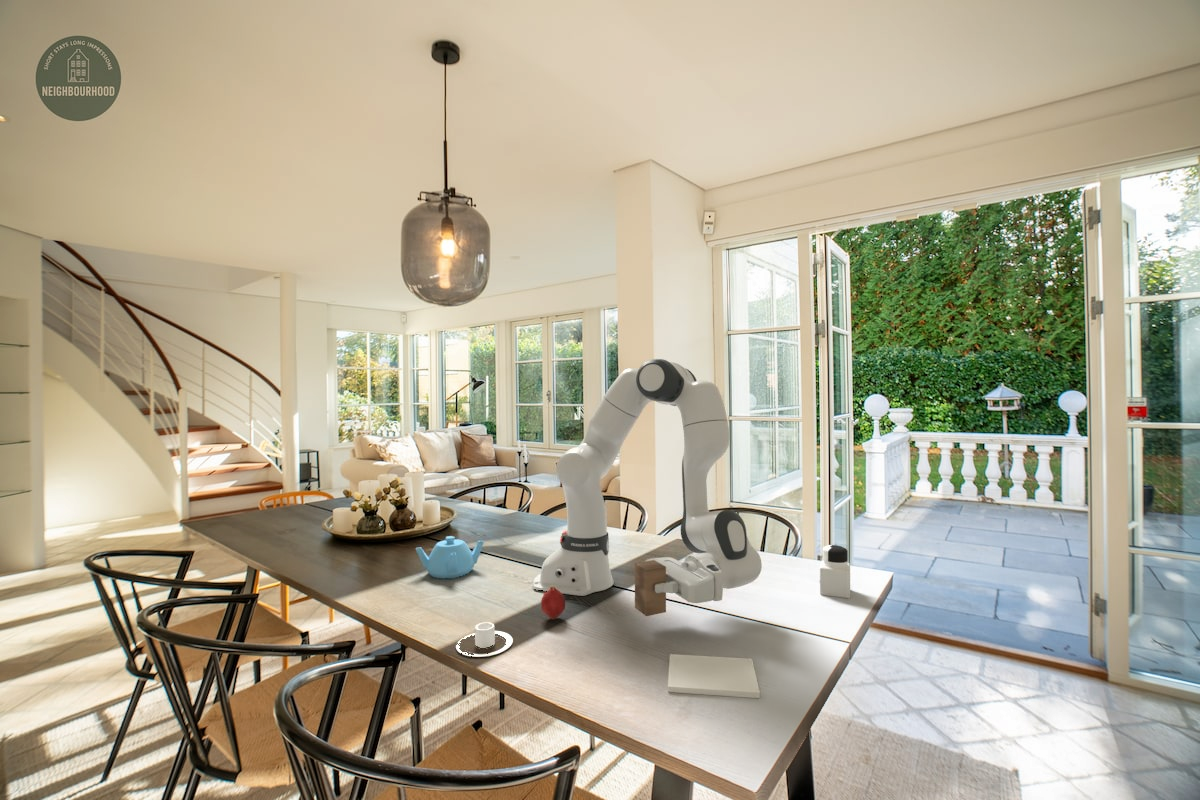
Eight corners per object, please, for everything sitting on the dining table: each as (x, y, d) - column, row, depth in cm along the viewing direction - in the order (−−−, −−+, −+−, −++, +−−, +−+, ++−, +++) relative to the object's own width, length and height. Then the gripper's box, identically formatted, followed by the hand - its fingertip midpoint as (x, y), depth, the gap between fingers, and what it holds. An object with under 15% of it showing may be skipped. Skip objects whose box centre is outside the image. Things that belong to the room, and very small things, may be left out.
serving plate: (667, 691, 98) (667, 686, 98) (669, 659, 110) (669, 654, 110) (760, 698, 95) (759, 692, 95) (751, 663, 107) (751, 658, 107)
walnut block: (634, 607, 121) (634, 563, 121) (654, 603, 123) (654, 560, 123) (646, 616, 117) (645, 570, 117) (666, 612, 119) (665, 566, 119)
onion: (541, 614, 132) (540, 581, 132) (565, 613, 133) (564, 580, 133) (541, 624, 127) (540, 590, 126) (565, 623, 127) (565, 589, 127)
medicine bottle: (850, 589, 145) (849, 544, 145) (850, 599, 139) (849, 552, 138) (821, 585, 148) (821, 541, 148) (820, 595, 142) (819, 549, 141)
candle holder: (501, 662, 110) (501, 640, 110) (446, 658, 112) (445, 637, 112) (520, 635, 122) (519, 616, 122) (469, 632, 124) (469, 613, 124)
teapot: (487, 568, 168) (487, 533, 168) (454, 584, 155) (453, 546, 154) (449, 562, 175) (448, 528, 175) (414, 576, 161) (413, 540, 161)
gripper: (674, 548, 135) (624, 555, 129) (726, 574, 116) (671, 584, 110) (674, 573, 135) (624, 582, 129) (726, 603, 116) (671, 615, 111)
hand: (646, 583), depth 120 cm, fingers closed on walnut block, 5 cm apart
